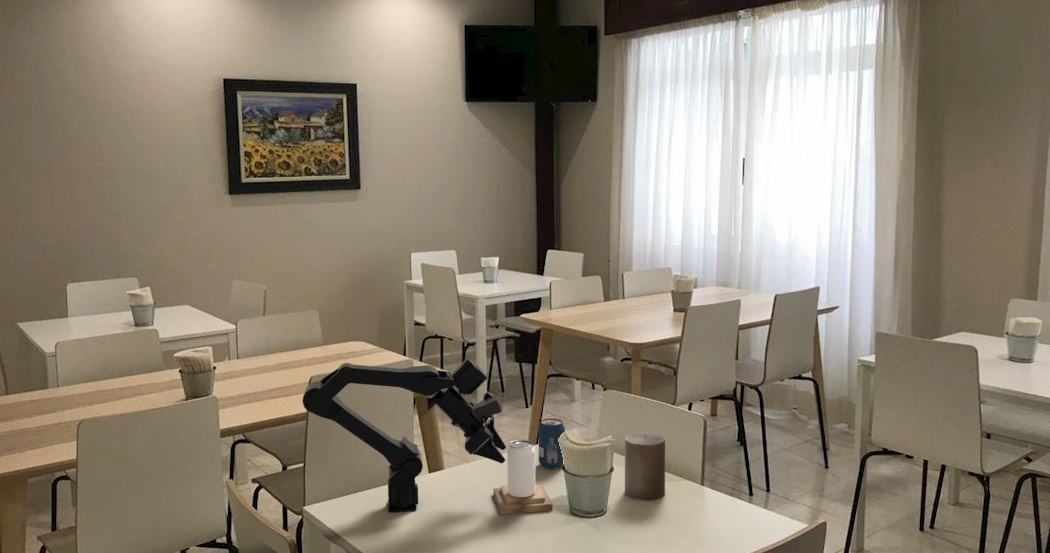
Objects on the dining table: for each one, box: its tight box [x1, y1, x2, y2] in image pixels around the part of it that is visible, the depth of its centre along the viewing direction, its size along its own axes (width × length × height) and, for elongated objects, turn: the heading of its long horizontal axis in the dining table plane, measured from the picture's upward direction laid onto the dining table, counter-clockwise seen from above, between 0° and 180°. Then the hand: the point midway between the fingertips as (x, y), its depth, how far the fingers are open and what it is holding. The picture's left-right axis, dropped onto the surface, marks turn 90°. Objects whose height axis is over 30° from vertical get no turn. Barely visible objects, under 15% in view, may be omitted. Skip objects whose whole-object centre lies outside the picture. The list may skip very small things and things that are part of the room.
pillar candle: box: [624, 432, 666, 501], centre depth 207 cm, size 10×10×15 cm
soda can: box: [538, 418, 566, 470], centre depth 226 cm, size 7×7×12 cm
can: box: [506, 439, 536, 498], centre depth 200 cm, size 6×6×12 cm
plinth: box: [493, 483, 554, 515], centre depth 202 cm, size 12×12×2 cm
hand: (504, 455), depth 201 cm, fingers open, 9 cm apart
